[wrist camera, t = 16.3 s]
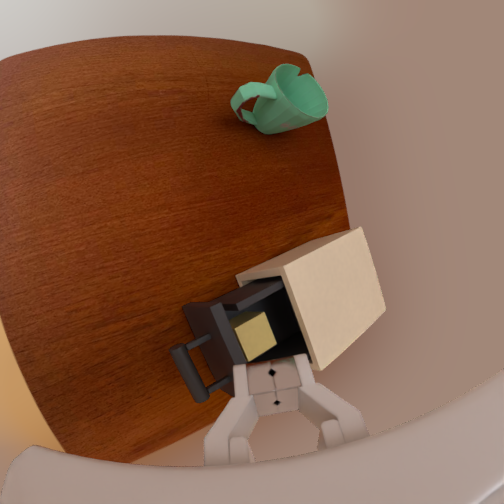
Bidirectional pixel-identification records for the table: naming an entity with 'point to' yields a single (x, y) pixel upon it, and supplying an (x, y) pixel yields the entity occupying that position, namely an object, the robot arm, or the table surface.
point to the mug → (281, 101)
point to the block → (252, 333)
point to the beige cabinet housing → (327, 291)
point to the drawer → (223, 338)
